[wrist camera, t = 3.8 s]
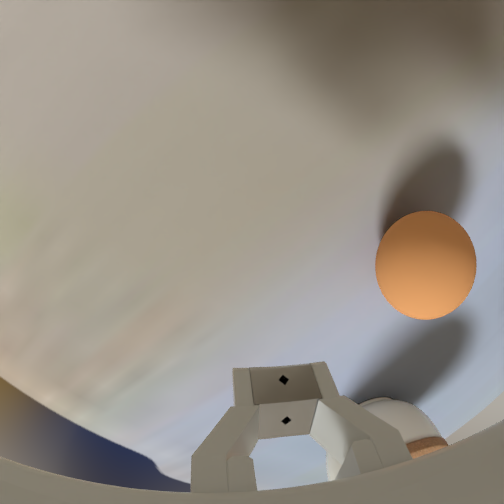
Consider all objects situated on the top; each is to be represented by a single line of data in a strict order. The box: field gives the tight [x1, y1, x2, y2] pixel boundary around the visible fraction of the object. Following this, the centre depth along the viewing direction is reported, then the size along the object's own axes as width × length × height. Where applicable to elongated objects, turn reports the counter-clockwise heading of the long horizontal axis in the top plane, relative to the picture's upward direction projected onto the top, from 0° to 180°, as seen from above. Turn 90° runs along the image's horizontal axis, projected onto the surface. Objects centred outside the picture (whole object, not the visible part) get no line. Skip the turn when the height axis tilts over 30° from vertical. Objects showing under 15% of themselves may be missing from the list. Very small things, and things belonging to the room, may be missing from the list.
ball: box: [375, 211, 476, 320], centre depth 16 cm, size 6×6×6 cm
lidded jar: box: [326, 397, 448, 481], centre depth 22 cm, size 11×11×9 cm
